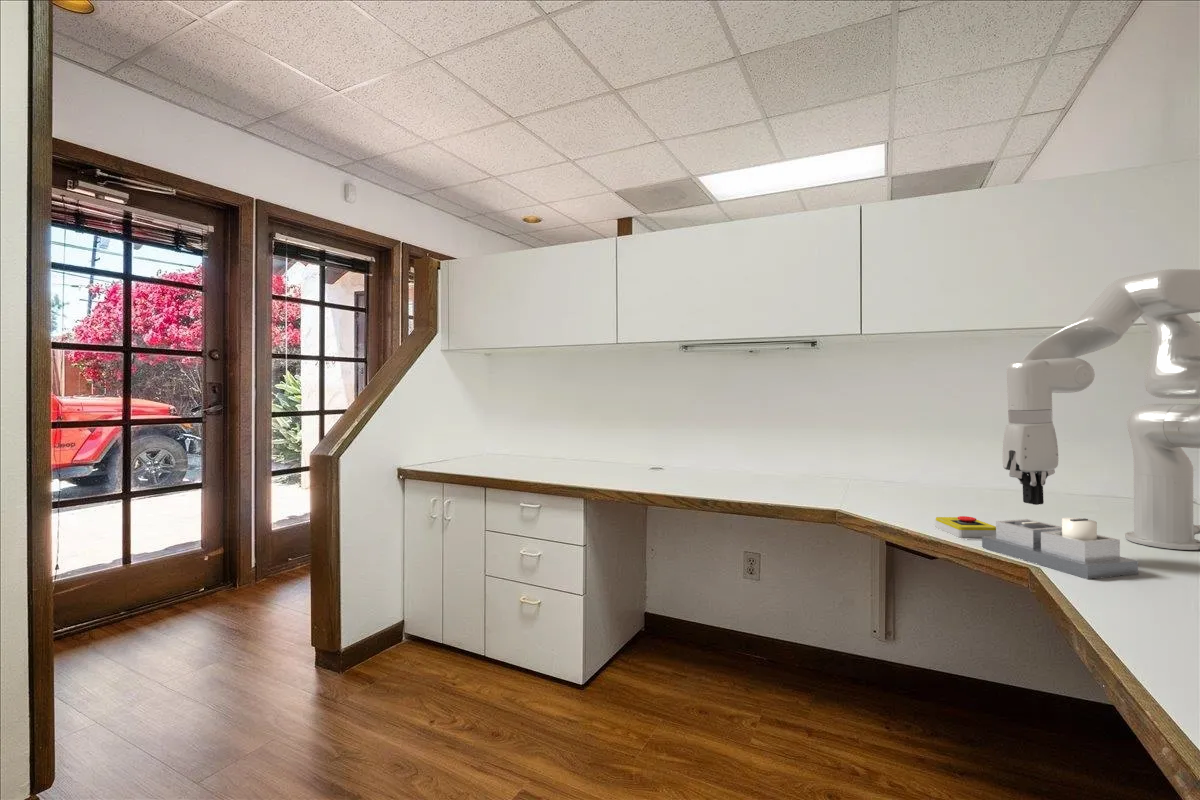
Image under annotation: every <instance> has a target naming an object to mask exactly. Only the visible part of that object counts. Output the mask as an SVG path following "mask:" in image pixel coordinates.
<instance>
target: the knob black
mask: <svg viewBox="0 0 1200 800" xmlns="http://www.w3.org/2000/svg"><path fill="white" fill-rule="evenodd" d="M1038 522H1039V521H1037V522H1032V521H1015V525H1018V526H1023V527H1027V528H1031V529H1036V528H1045V524H1042V523H1043V522H1042V523H1038Z"/></svg>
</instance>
